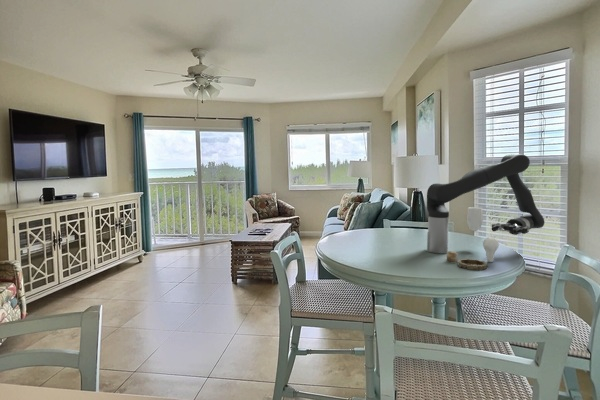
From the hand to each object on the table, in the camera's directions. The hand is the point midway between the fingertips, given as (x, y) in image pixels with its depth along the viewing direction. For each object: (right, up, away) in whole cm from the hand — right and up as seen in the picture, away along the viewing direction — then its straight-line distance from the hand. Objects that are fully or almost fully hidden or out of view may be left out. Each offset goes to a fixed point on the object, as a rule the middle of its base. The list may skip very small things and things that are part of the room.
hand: (503, 230), depth 155 cm
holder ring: (-20, -14, -11) cm, 27 cm away
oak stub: (-25, -13, -3) cm, 28 cm away
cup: (-4, -11, +19) cm, 22 cm away
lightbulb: (-9, -14, -5) cm, 17 cm away
